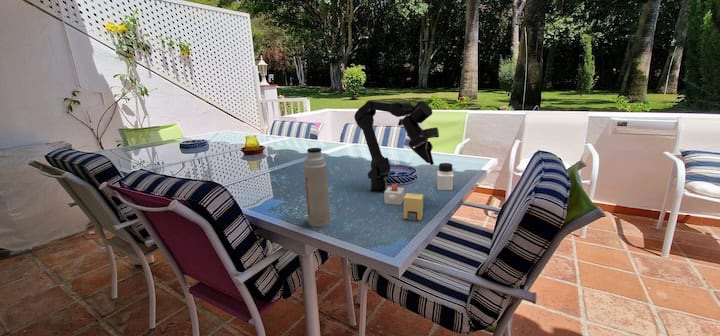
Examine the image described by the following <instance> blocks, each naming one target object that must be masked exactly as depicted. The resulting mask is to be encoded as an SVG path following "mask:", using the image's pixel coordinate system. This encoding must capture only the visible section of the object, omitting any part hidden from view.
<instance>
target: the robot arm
mask: <svg viewBox="0 0 720 336" xmlns="http://www.w3.org/2000/svg"><path fill="white" fill-rule="evenodd" d="M377 111H380V112H387V113H390V115H392V116H395V118H399V117H403V118H399V120H398V121H399V122H398V123H397V126H398V127H399V126H400V127H401V126H403V128H404V130H405V132H406V136H407V137H408V138H409V142H408V146H409V148H410V149H411V150H412V151H413V152H414V153H415V154H417V156H418V157H419V158H421V160H423V161H424V162H426V164H429V165H431V166H433V165H435V164H434V159H433V155H432V150H433V144H432V142H431V141H429V139H432V138H433V139H434V138H439V137H440V133H439V128H438V127H429V128H425V129H423V128H422V127H421V125H420V124H422V123H423V122H425V121H426V120H427V119H428V118H429V117H431V116H432V115H433V109H432V108H431V106H429V105H428V104H427V103H425V102H424V101H423V100H422V101H421V100H420V101H418V102H417V103H416V105H412V103H411V102H410V101H400V102H389V101H382V100H376V99H369V100H367V101H366V102H365V104H363V105H362V106H361V107H359V108H358V109H357V110H356V112H355V114H354V116H353V117H354V121H355V122H356V125H357V126H358V127H359V128H360V129H361V130H362V133H363V135H364V138H365V141H366V144H367V148H368V151H369V153H370V157H371V161H370V168H371V169H370V170H369V171H368V173H367V177H368V179H370V181H371V182H370V183H371V185H370V186H371V188H370V192H377V193H384V192H385V191H386V189H387V188H388V186H387V179H386V177H389V175H390V171H391V166H392V165H391V163H390V161H389V158H388V157H385V156H384V155H383V154H382V151H381V148H380V145H379V141H378V139H377V136H376V133H375V129H374V121H375V120H374V116H375V115H376V113H377Z"/></svg>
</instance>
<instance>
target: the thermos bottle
mask: <svg viewBox="0 0 720 336" xmlns="http://www.w3.org/2000/svg"><path fill="white" fill-rule="evenodd" d="M304 159H305V160H304V162H305V164H304V165H303V171H304V185H305V196H306V206H307V207H306V208H307V221H308V224H309V226H311V227H314V226H315V227H318V228H320V226H321V227H324V226H325V227H326V226H327V225H329V224H330V222H331V219H330V217H331V216H330V214H331V213H330V203H329V201H330V200H329V184H328V183H329V182H328V181H329V180H328V168H327V165H328V164H327V162H325V157H324V156H322V148H321V147H311V148H308V149H307V157H306V158H304Z"/></svg>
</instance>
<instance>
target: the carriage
mask: <svg viewBox="0 0 720 336" xmlns="http://www.w3.org/2000/svg"><path fill="white" fill-rule="evenodd" d="M409 211H413V212H417V220H416V221H422V218H423V216H424V214H423V213H424V194H421V193H410V192H409V193H407V192H406V193H405V194H404V200H403V220H404V219H406V220H408V212H409Z"/></svg>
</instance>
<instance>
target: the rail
mask: <svg viewBox="0 0 720 336" xmlns="http://www.w3.org/2000/svg"><path fill="white" fill-rule="evenodd" d="M407 220H408V221H414V222H417V221H418V220H417V212H413V211H409V212H408V219H407Z"/></svg>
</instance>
